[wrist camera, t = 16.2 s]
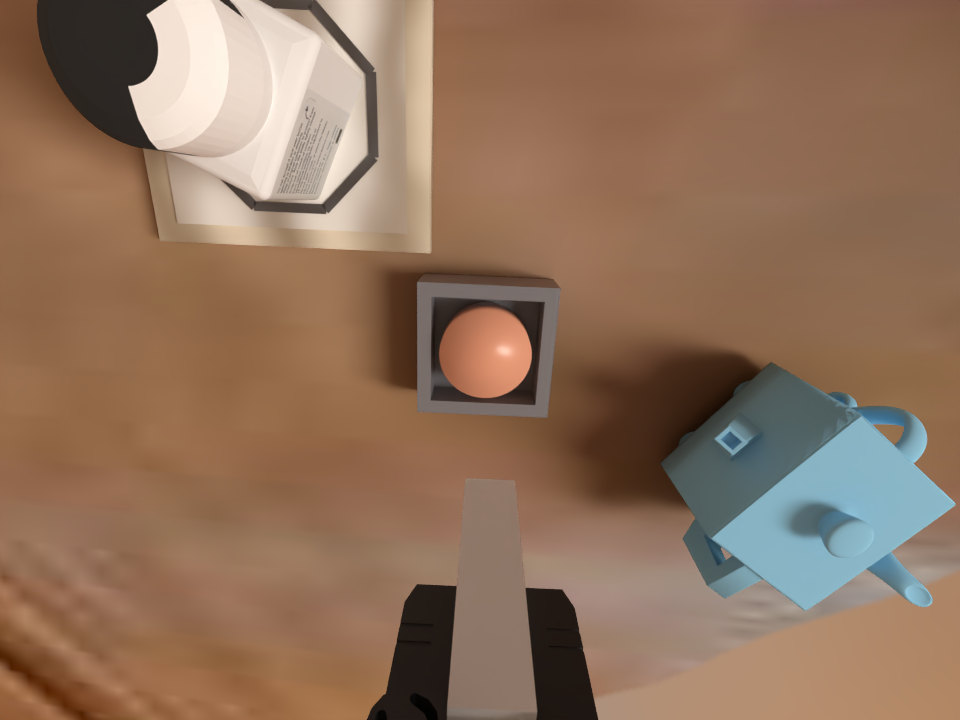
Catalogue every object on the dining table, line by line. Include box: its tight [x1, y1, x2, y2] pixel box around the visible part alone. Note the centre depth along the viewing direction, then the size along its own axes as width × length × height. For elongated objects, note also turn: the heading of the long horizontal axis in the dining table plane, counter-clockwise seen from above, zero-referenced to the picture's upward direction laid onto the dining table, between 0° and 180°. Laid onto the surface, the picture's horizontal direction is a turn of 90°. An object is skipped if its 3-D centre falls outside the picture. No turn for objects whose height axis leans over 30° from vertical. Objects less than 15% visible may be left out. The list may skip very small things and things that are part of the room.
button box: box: [417, 273, 561, 418], centre depth 32 cm, size 9×9×4 cm
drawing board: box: [143, 0, 434, 253], centre depth 28 cm, size 18×16×1 cm
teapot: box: [660, 362, 956, 611], centre depth 31 cm, size 16×18×11 cm
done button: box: [439, 302, 532, 398], centre depth 31 cm, size 6×6×2 cm
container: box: [37, 0, 362, 200], centre depth 21 cm, size 8×8×13 cm
